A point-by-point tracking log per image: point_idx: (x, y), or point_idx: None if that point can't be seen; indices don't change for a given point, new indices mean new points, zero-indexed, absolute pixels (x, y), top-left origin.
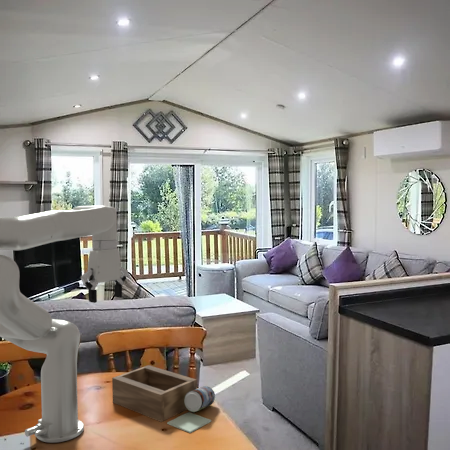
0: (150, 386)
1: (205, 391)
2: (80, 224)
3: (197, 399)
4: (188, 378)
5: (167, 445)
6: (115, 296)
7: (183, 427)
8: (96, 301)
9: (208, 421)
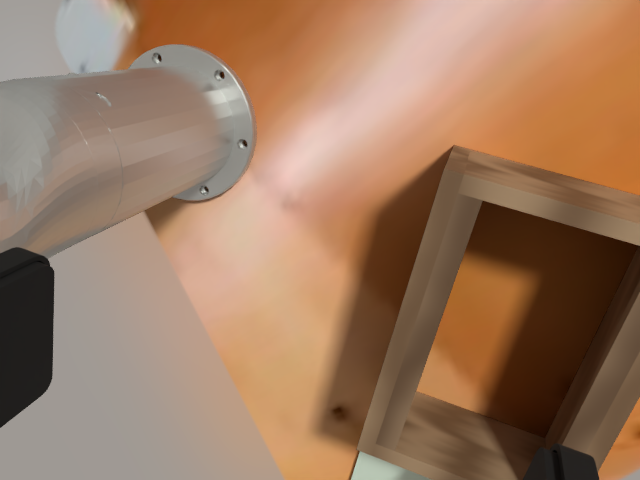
0: (415, 386)
1: None
2: None
3: None
4: None
5: (268, 448)
6: (527, 474)
7: (363, 463)
8: (34, 394)
9: None
